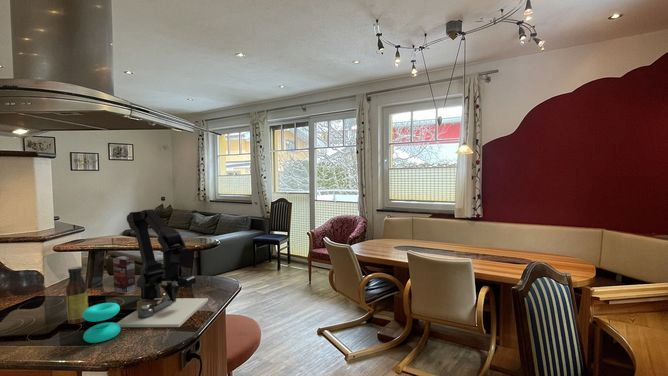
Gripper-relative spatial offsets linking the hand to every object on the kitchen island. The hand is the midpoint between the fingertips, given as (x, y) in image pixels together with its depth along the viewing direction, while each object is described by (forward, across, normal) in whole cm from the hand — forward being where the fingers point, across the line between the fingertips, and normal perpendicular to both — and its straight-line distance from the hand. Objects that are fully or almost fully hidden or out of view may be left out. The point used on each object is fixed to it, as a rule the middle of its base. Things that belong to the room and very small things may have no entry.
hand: (173, 301), depth 133 cm
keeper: (+1, +4, +8) cm, 9 cm away
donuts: (+2, +3, +28) cm, 28 cm away
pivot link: (+1, +2, +6) cm, 7 cm away
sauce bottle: (+2, +24, +21) cm, 32 cm away
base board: (+2, -2, +6) cm, 6 cm away
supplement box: (+1, +36, -9) cm, 38 cm away
